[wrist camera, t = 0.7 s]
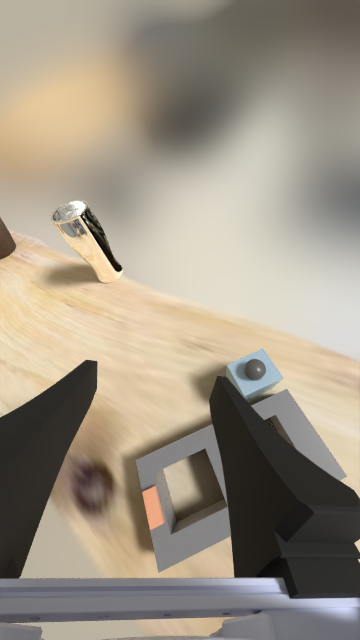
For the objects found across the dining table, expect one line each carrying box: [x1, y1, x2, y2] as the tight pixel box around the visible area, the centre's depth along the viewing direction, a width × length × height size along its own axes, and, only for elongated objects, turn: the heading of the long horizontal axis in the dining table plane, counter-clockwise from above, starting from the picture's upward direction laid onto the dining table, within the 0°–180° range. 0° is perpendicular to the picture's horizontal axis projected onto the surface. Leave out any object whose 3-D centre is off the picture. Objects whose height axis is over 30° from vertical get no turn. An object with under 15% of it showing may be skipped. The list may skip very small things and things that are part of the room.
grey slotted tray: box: [135, 389, 347, 572], centre depth 22 cm, size 9×20×4 cm, turn 112°
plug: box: [226, 349, 283, 400], centre depth 25 cm, size 4×5×7 cm
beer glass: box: [51, 200, 123, 283], centre depth 39 cm, size 7×7×15 cm
